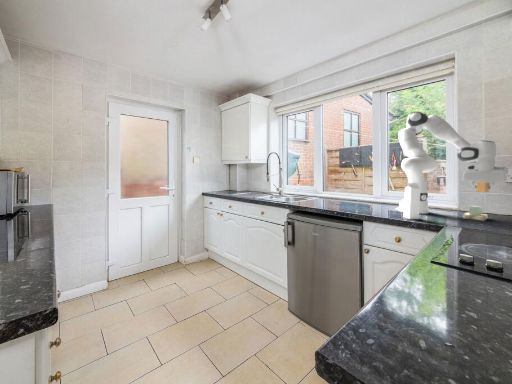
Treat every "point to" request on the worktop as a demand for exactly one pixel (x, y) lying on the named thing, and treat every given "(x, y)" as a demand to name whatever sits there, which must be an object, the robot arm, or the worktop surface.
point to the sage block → (475, 210)
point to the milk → (411, 201)
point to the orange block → (482, 187)
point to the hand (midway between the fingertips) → (482, 188)
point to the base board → (475, 216)
